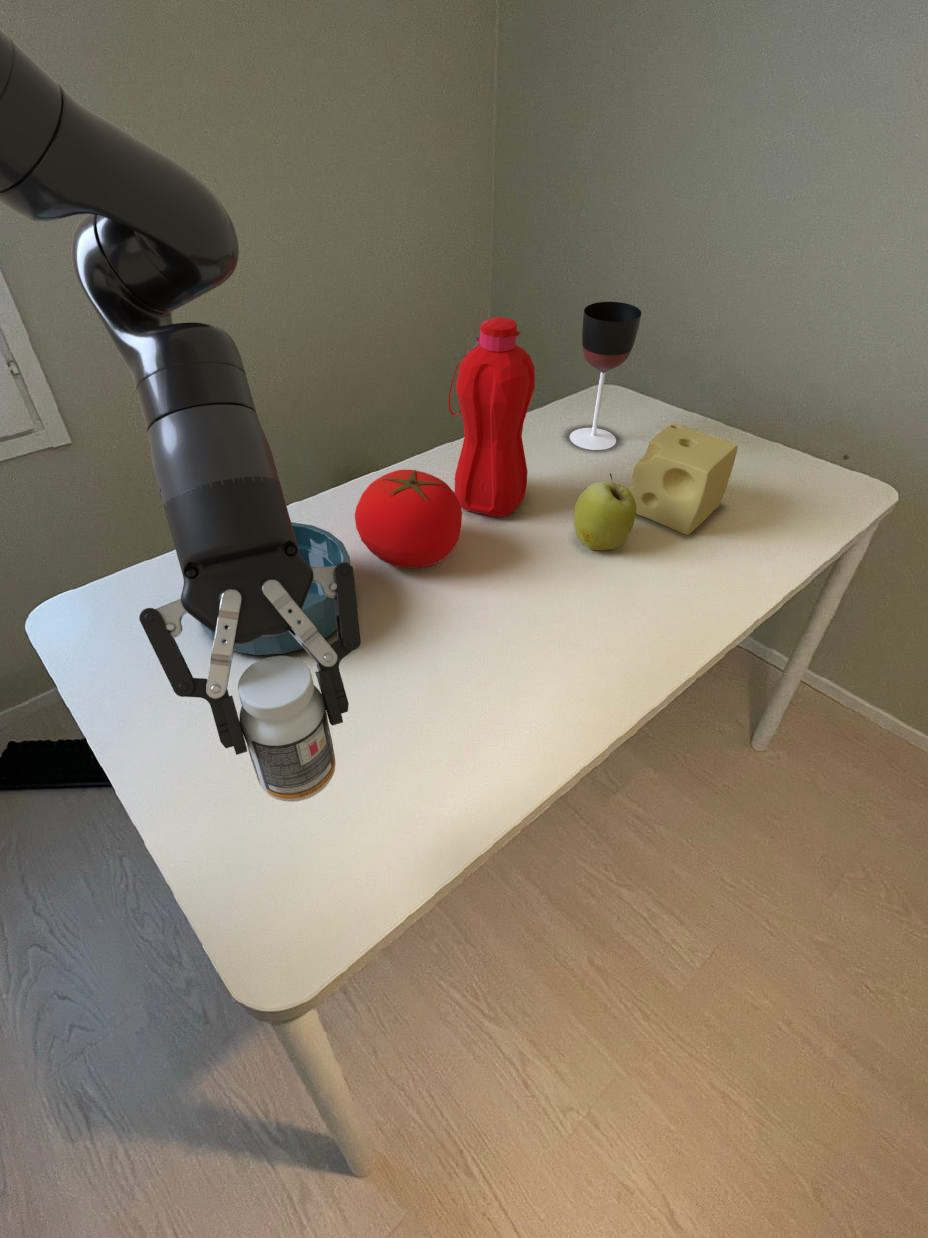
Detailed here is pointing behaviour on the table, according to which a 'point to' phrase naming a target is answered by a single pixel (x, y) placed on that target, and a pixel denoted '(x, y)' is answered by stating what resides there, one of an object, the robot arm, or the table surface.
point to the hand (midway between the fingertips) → (290, 736)
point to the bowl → (319, 609)
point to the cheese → (682, 477)
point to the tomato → (409, 518)
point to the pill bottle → (286, 728)
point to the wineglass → (605, 357)
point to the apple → (604, 515)
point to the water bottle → (493, 420)
